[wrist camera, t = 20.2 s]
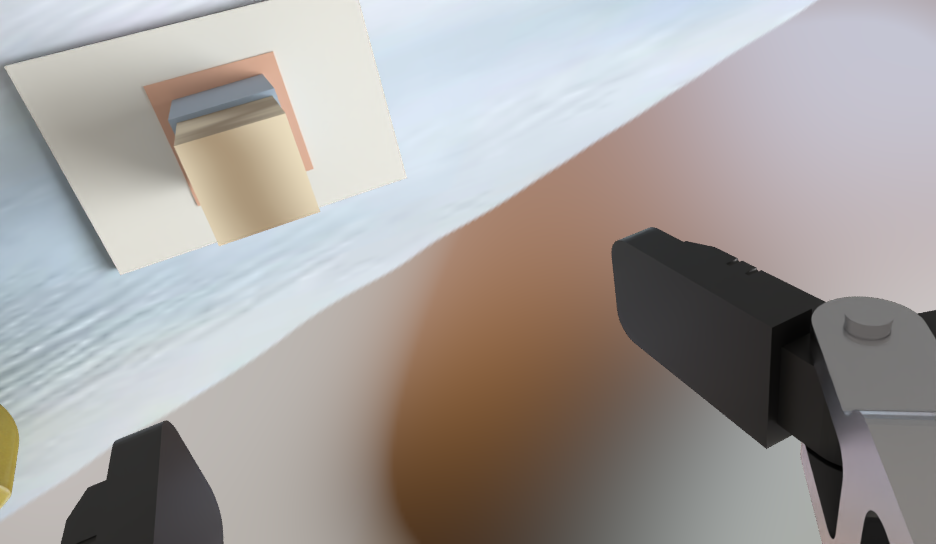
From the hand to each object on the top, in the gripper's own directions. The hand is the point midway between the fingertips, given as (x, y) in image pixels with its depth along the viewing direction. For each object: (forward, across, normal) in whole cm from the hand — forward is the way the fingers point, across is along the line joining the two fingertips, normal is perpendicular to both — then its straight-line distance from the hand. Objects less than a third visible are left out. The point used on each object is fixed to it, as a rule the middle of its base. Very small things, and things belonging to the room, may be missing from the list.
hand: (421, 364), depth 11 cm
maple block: (+23, +2, +1) cm, 23 cm away
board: (+30, +2, +1) cm, 30 cm away
